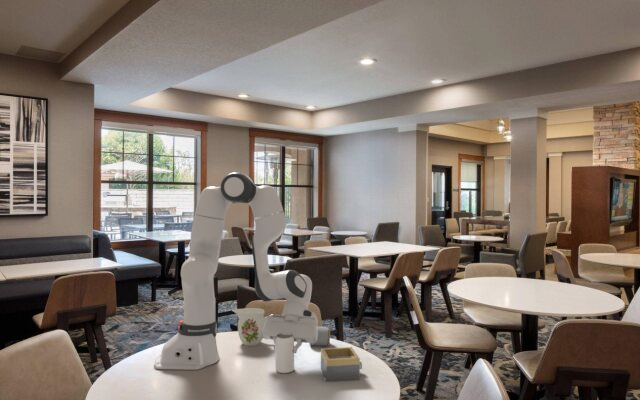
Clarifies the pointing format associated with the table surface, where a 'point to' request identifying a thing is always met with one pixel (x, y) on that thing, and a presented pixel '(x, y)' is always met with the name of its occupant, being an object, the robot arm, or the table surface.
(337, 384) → the table surface
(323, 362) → the drawer
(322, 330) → the ceramic mug
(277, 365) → the can
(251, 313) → the pitcher
